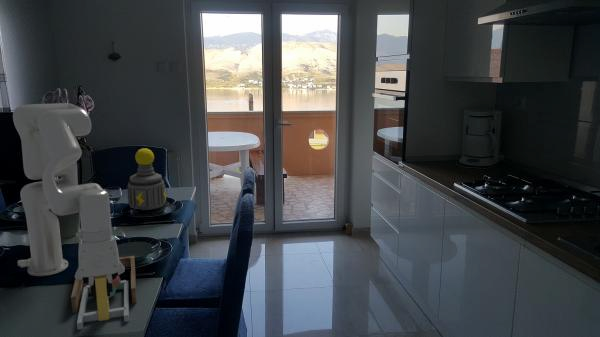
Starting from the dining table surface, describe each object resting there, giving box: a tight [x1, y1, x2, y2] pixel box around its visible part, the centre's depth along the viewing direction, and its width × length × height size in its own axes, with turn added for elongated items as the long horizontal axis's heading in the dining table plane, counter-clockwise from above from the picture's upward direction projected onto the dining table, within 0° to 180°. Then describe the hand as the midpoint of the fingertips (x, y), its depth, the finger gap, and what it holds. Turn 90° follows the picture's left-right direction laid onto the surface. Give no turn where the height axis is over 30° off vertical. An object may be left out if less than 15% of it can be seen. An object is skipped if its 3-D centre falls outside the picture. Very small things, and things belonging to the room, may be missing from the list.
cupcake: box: [94, 275, 122, 299], centre depth 142 cm, size 9×8×12 cm
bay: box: [70, 255, 137, 314], centre depth 147 cm, size 18×25×5 cm
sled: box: [76, 275, 130, 331], centre depth 135 cm, size 13×22×13 cm, turn 20°
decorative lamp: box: [126, 147, 167, 211], centre depth 232 cm, size 19×19×30 cm
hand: (102, 294), depth 129 cm, fingers closed on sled, 2 cm apart
